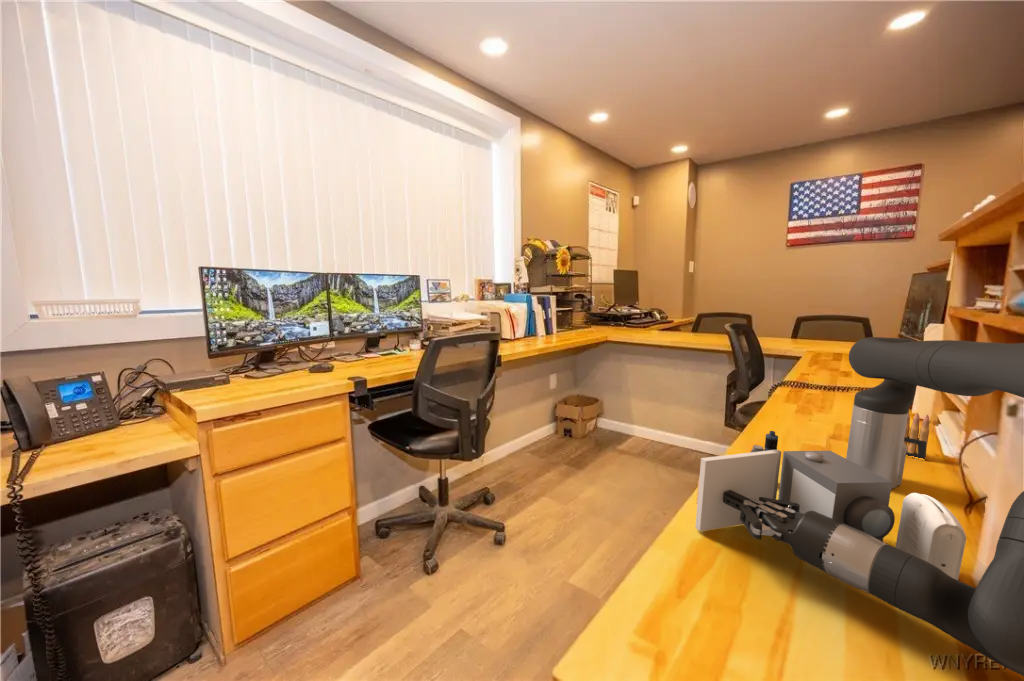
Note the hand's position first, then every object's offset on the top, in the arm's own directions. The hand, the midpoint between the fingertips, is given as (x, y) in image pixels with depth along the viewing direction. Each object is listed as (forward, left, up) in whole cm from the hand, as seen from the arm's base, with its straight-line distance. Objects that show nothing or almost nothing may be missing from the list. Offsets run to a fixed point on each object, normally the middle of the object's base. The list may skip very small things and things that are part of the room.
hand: (725, 495), depth 73 cm
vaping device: (-19, -18, -7) cm, 27 cm away
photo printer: (-25, +12, -7) cm, 29 cm away
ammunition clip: (-66, -32, -7) cm, 74 cm away
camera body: (-17, +4, -7) cm, 19 cm away
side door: (-3, -2, -6) cm, 8 cm away
